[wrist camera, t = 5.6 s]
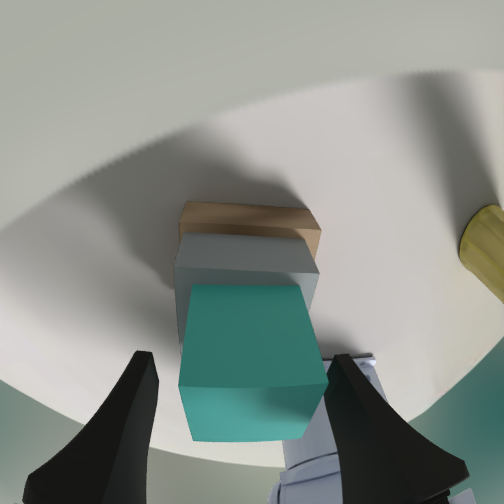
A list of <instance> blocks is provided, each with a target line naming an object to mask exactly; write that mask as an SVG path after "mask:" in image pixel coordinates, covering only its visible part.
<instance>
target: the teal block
mask: <svg viewBox="0 0 504 504" xmlns="http://www.w3.org/2000/svg"><path fill="white" fill-rule="evenodd" d="M328 384H329V382H328V378H327V375H326V371H325V368H324V364H323V361H322V357H321V354H320V350H319V347H318V344H317V340H316V337H315V334H314V330H313V327H312V324H311V320H310V317H309V314H308V310H307V307H306V304H305V301H304V298H303V294H302V291H301V288H300V286H269V285H204V284H192V290H191V296H190V303H189V309H188V316H187V323H186V330H185V337H184V344H183V351H182V359H181V367H180V375H179V384H178V387H179V391H180V395H181V399H182V403H183V407H184V411H185V414H186V418H187V422H188V425H189V429H190V432H191V435H192V439H193V441H203V442H258V441H276V440H289V439H299V438H302V436H303V434H304V432H305V430H306V428H307V426H308V424H309V423H310V421H311V419H312V417H313V415H314V413H315V411H316V409H317V407H318V405H319V403H320V401H321V398H322V396H323V394H324V392H325V390H326V388H327V386H328Z"/></svg>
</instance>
